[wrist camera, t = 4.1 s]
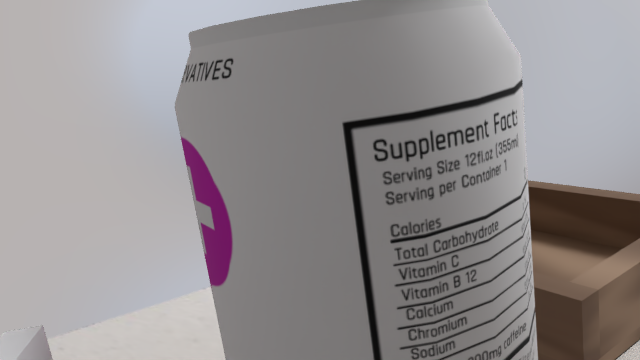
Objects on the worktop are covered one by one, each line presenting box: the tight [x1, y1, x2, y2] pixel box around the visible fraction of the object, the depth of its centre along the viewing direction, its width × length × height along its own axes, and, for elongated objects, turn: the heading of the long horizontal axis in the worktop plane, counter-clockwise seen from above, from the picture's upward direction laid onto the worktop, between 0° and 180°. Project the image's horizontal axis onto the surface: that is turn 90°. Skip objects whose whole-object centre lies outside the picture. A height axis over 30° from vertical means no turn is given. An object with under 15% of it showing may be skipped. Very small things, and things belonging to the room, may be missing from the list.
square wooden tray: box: [528, 181, 640, 360], centre depth 31 cm, size 13×13×4 cm
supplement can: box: [175, 0, 538, 360], centre depth 15 cm, size 8×8×15 cm
